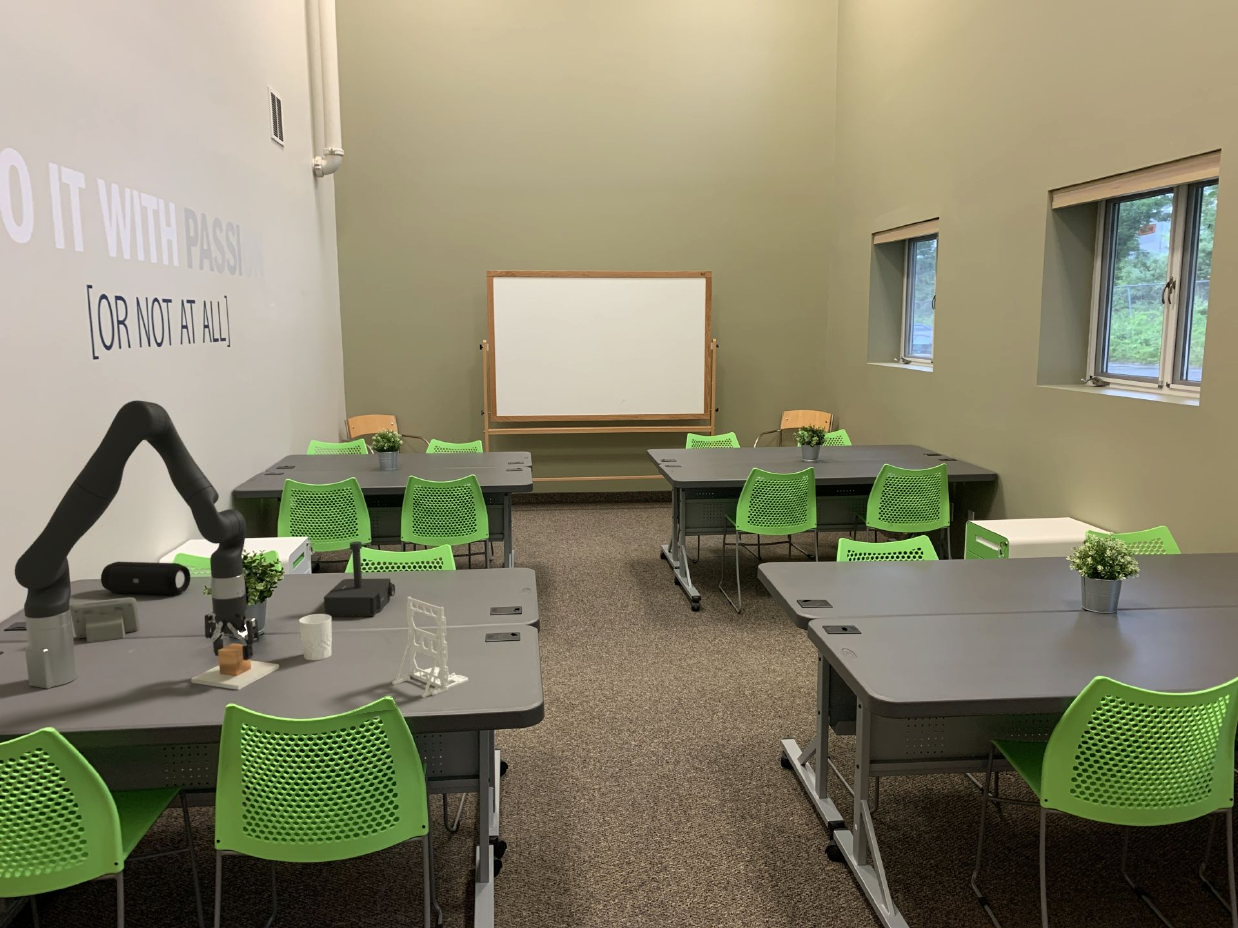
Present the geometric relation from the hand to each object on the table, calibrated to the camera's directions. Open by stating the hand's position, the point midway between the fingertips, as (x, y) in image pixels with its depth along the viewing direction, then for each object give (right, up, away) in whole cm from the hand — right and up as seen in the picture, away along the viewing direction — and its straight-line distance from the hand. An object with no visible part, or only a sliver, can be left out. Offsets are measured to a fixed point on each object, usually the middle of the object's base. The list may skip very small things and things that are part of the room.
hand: (233, 657), depth 224 cm
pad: (0, -5, +1) cm, 5 cm away
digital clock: (-48, -1, +31) cm, 57 cm away
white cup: (+16, -3, +13) cm, 21 cm away
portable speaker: (-57, +6, +70) cm, 91 cm away
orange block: (0, -4, +1) cm, 4 cm away
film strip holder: (+49, -5, -5) cm, 50 cm away
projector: (+17, +4, +53) cm, 55 cm away
